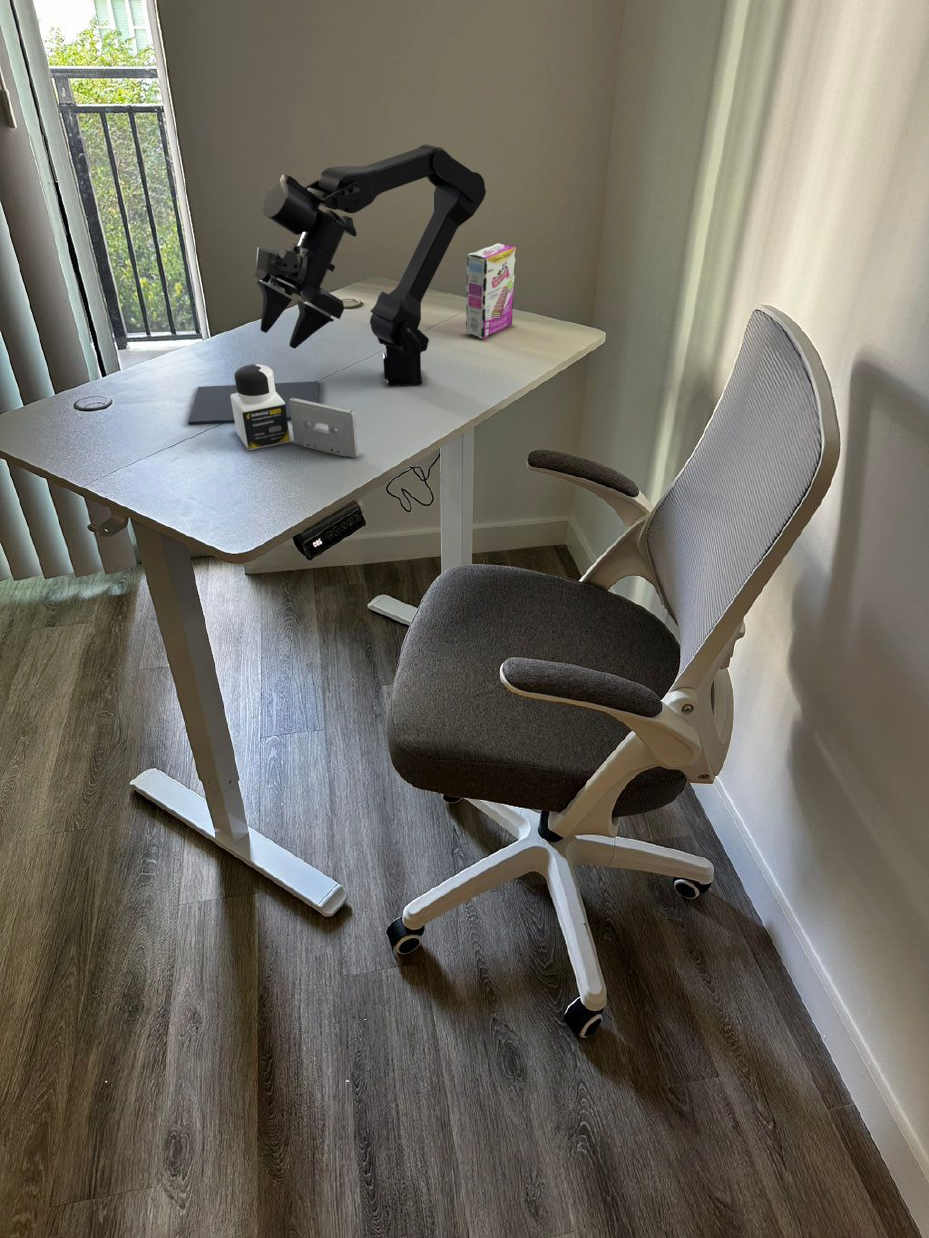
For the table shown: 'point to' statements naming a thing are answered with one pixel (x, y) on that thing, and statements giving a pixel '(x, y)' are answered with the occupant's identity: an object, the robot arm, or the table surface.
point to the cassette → (330, 439)
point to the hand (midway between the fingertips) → (277, 339)
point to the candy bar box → (490, 290)
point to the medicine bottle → (258, 408)
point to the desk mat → (216, 400)
